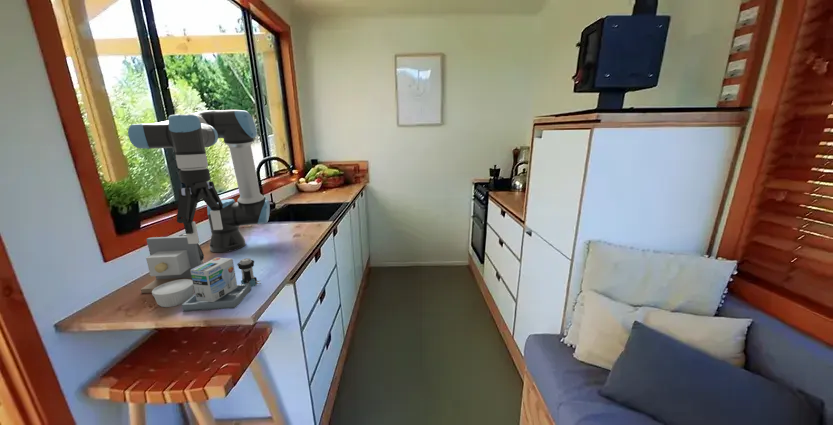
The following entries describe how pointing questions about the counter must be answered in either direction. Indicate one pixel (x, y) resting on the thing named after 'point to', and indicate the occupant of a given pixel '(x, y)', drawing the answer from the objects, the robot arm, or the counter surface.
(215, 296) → the light bulb box
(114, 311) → the counter surface
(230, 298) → the tray
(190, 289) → the ramekin
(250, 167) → the robot arm
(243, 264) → the push button
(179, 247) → the mounted unit
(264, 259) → the counter surface
